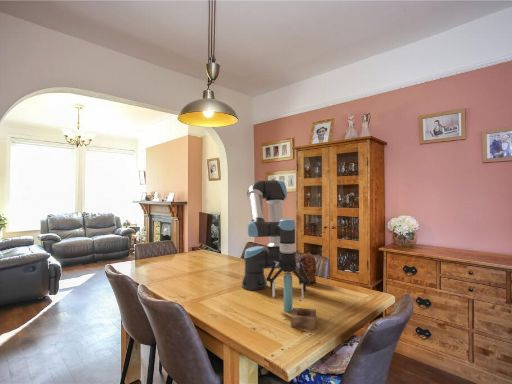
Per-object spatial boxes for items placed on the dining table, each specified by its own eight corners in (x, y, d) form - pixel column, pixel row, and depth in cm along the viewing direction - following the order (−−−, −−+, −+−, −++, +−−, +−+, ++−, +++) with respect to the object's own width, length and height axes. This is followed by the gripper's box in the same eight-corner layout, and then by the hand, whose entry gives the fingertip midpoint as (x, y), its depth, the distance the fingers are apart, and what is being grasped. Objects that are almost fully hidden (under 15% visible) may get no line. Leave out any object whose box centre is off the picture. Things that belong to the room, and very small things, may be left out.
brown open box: (290, 326, 112) (290, 317, 112) (293, 316, 121) (293, 307, 121) (315, 329, 109) (315, 319, 109) (316, 318, 119) (316, 309, 119)
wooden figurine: (304, 286, 163) (304, 256, 164) (297, 283, 168) (296, 254, 169) (318, 282, 170) (317, 253, 170) (310, 280, 175) (310, 252, 175)
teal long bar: (283, 311, 126) (283, 273, 127) (284, 308, 130) (284, 271, 131) (291, 312, 126) (291, 273, 126) (292, 309, 129) (292, 271, 130)
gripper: (260, 252, 128) (260, 297, 127) (314, 254, 122) (314, 302, 122) (263, 249, 135) (263, 292, 135) (314, 251, 129) (315, 296, 129)
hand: (288, 297), depth 128 cm, fingers open, 13 cm apart
